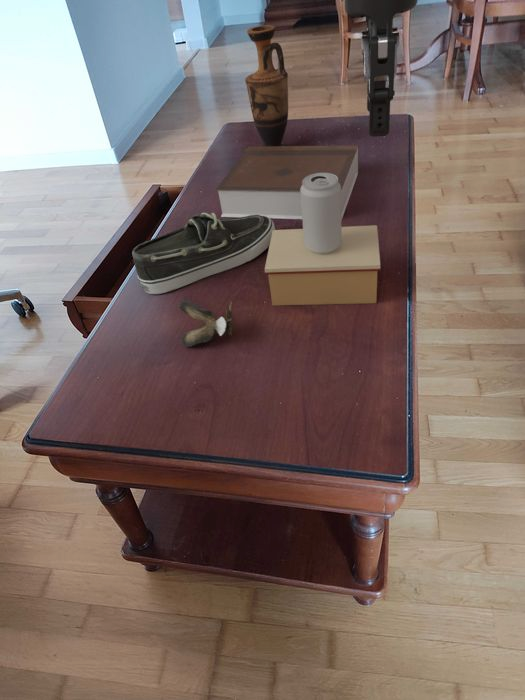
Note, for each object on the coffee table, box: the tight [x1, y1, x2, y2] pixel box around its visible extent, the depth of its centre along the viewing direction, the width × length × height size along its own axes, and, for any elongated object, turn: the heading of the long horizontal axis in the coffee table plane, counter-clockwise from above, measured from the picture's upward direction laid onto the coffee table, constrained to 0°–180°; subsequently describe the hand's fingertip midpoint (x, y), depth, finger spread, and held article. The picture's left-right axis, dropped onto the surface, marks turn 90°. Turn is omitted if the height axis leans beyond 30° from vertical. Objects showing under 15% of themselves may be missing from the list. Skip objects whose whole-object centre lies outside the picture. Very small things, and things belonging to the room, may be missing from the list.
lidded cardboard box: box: [264, 224, 382, 306], centre depth 91 cm, size 19×13×8 cm
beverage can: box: [300, 173, 342, 254], centre depth 84 cm, size 6×6×12 cm
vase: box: [244, 24, 289, 146], centre depth 133 cm, size 11×11×30 cm
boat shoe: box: [131, 211, 276, 295], centre depth 100 cm, size 11×31×10 cm, turn 125°
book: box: [215, 144, 360, 221], centre depth 121 cm, size 24×28×6 cm
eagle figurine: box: [178, 300, 234, 348], centre depth 85 cm, size 8×7×9 cm
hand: (377, 122), depth 62 cm, fingers open, 8 cm apart
